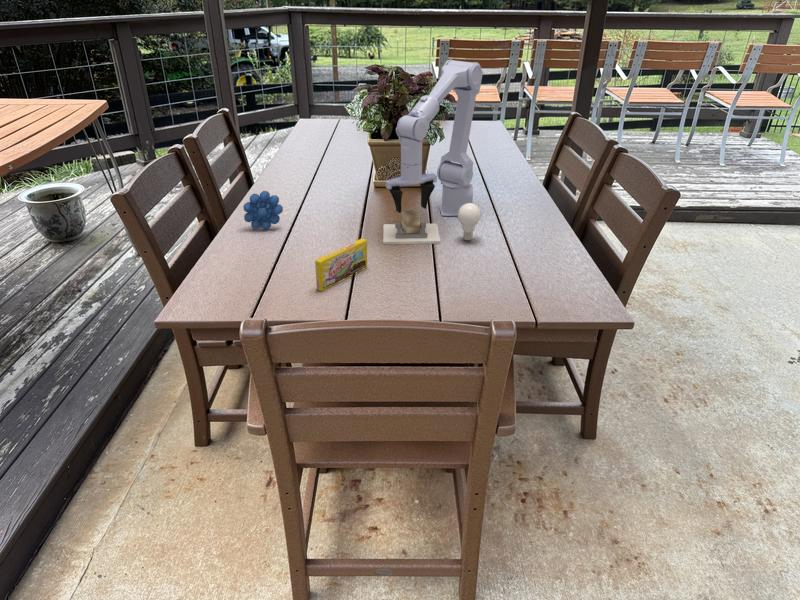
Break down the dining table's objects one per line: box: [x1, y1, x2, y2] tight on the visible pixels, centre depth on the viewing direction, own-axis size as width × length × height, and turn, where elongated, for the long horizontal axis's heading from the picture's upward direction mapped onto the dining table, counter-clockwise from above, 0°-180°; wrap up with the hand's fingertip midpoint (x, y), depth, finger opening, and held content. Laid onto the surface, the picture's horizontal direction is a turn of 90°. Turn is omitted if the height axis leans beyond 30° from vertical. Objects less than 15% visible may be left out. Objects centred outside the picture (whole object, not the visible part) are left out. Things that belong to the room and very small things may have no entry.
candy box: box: [314, 237, 368, 292], centre depth 135 cm, size 16×2×8 cm, turn 139°
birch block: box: [401, 209, 421, 233], centre depth 157 cm, size 4×4×6 cm
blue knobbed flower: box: [243, 190, 284, 231], centre depth 160 cm, size 12×7×12 cm, turn 91°
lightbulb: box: [457, 202, 482, 242], centre depth 152 cm, size 6×6×11 cm
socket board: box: [382, 222, 441, 245], centre depth 158 cm, size 16×12×2 cm
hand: (411, 209), depth 154 cm, fingers open, 7 cm apart
